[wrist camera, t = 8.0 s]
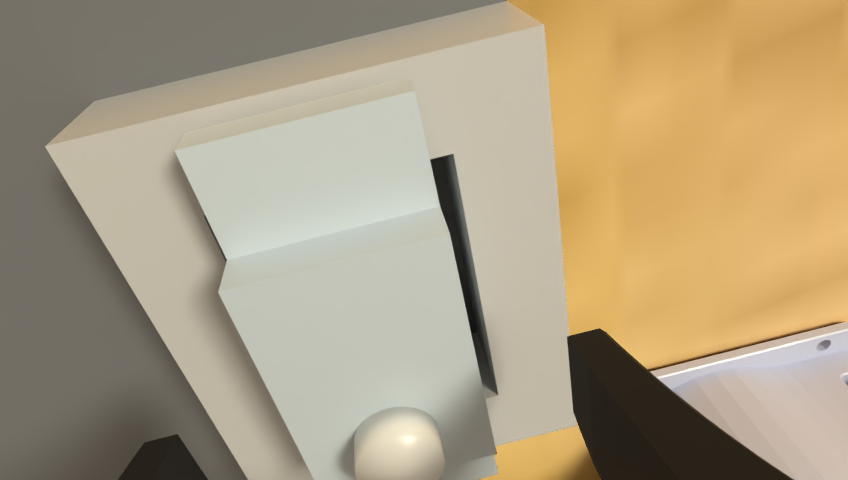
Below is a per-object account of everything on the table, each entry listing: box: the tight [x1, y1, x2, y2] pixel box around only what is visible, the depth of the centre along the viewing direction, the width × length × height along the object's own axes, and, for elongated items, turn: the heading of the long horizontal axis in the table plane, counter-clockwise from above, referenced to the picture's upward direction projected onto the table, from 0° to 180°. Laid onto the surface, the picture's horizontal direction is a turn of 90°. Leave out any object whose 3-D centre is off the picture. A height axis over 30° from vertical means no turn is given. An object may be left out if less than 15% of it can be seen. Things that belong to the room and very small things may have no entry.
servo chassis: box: [0, 0, 577, 480], centre depth 14 cm, size 20×16×4 cm
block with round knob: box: [174, 77, 498, 480], centre depth 13 cm, size 4×10×5 cm, turn 12°
